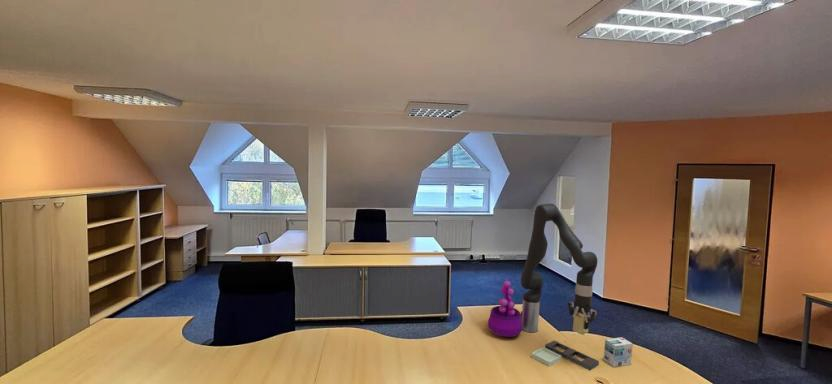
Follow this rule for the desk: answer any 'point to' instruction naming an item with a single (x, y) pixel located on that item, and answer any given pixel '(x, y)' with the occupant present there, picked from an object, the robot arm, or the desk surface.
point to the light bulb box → (618, 352)
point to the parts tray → (546, 356)
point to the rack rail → (569, 353)
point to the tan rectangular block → (579, 324)
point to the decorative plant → (505, 315)
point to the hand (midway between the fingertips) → (580, 326)
